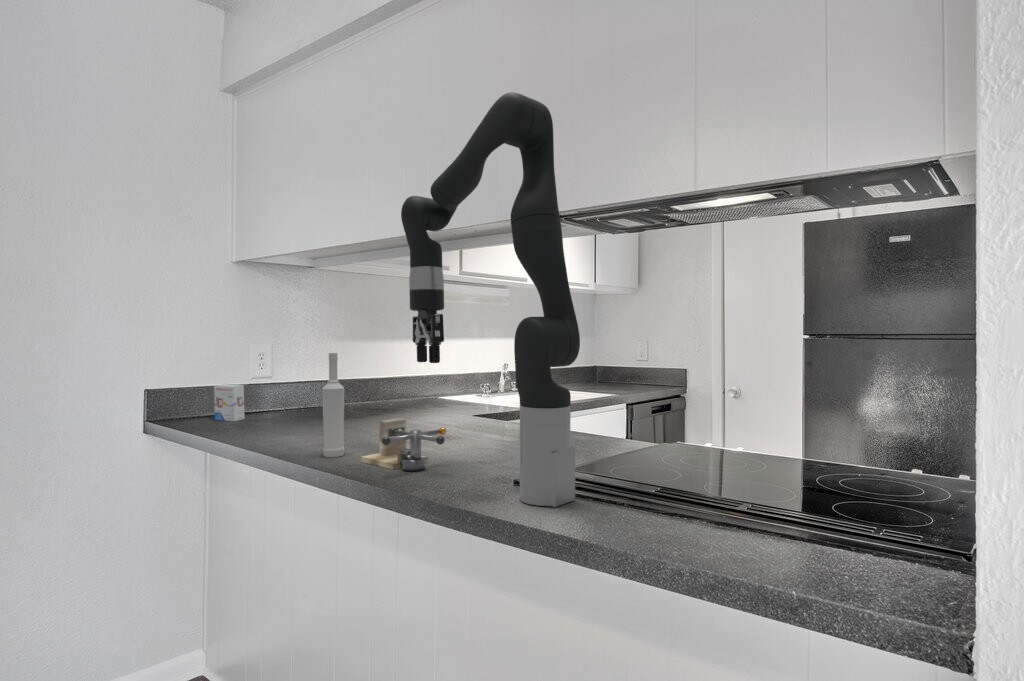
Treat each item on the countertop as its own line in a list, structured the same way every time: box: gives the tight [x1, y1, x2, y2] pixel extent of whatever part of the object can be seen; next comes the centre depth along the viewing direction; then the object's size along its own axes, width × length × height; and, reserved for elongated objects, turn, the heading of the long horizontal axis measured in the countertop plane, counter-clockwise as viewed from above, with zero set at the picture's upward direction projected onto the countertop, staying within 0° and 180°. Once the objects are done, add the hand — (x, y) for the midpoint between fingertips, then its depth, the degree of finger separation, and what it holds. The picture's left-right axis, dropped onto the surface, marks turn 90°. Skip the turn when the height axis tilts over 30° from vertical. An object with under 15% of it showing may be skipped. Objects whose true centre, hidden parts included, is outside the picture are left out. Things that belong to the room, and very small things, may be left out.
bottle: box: [321, 352, 346, 458], centre depth 154 cm, size 5×5×25 cm
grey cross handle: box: [382, 426, 447, 472], centre depth 139 cm, size 18×18×8 cm
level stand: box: [360, 418, 429, 470], centre depth 146 cm, size 14×10×9 cm
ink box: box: [213, 383, 245, 422], centre depth 212 cm, size 9×5×12 cm, turn 73°
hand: (428, 362), depth 139 cm, fingers open, 8 cm apart
